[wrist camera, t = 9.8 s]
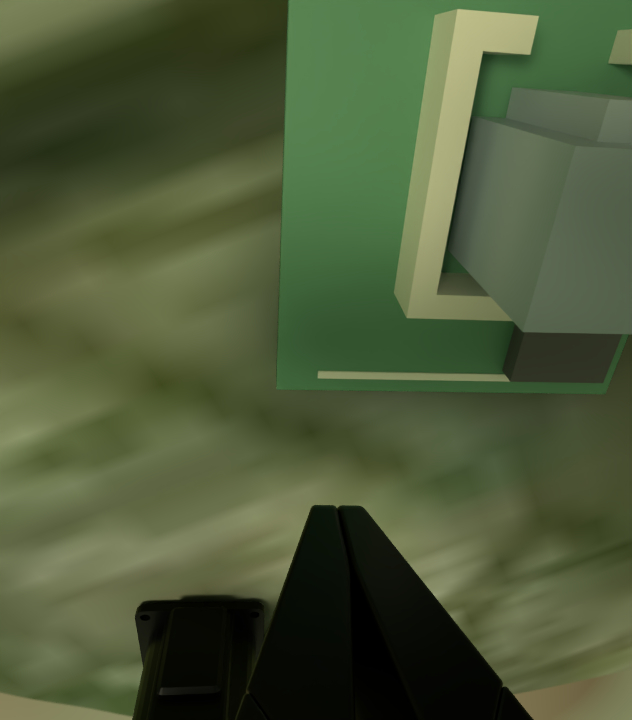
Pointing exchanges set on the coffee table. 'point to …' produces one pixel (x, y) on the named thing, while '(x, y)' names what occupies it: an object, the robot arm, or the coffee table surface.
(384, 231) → the board
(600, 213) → the plug
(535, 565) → the coffee table surface
